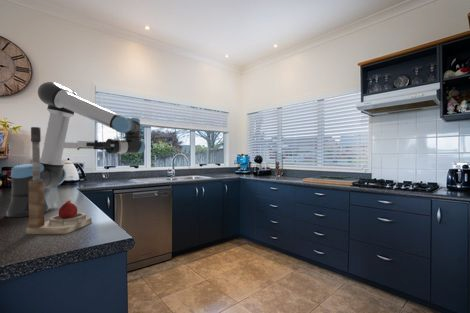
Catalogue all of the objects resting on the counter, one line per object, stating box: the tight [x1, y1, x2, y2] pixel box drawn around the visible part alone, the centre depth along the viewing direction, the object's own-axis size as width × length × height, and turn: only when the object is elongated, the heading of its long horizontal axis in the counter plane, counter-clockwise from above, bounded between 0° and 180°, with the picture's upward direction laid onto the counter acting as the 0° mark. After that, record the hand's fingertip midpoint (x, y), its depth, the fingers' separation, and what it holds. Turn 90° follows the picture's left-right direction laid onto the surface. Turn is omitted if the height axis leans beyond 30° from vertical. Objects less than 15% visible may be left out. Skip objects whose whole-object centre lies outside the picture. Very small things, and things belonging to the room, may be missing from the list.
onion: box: [58, 199, 78, 219], centre depth 91 cm, size 6×6×8 cm
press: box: [25, 126, 92, 235], centre depth 90 cm, size 14×14×37 cm
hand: (69, 144), depth 105 cm, fingers open, 13 cm apart
